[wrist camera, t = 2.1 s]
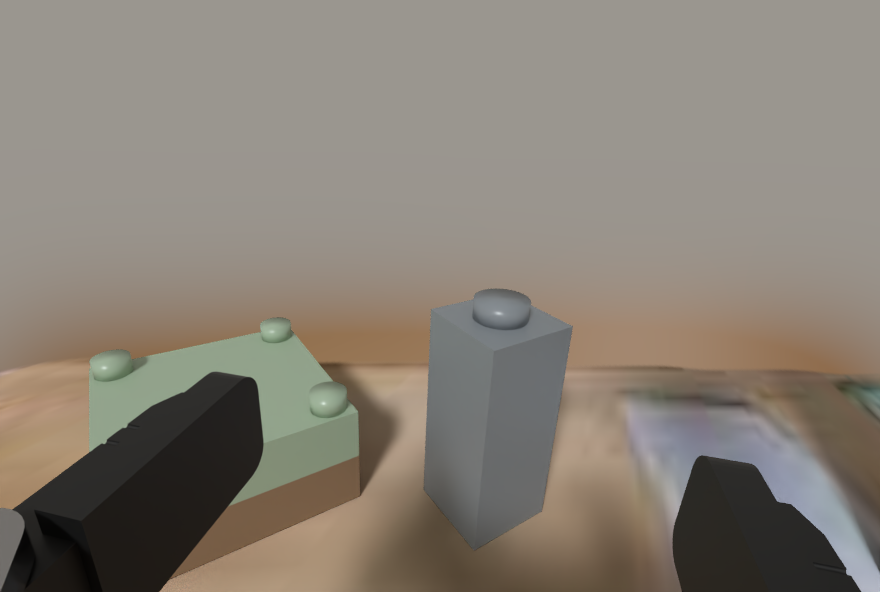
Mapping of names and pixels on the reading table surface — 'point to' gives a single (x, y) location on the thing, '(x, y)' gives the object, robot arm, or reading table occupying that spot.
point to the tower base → (283, 424)
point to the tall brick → (492, 410)
